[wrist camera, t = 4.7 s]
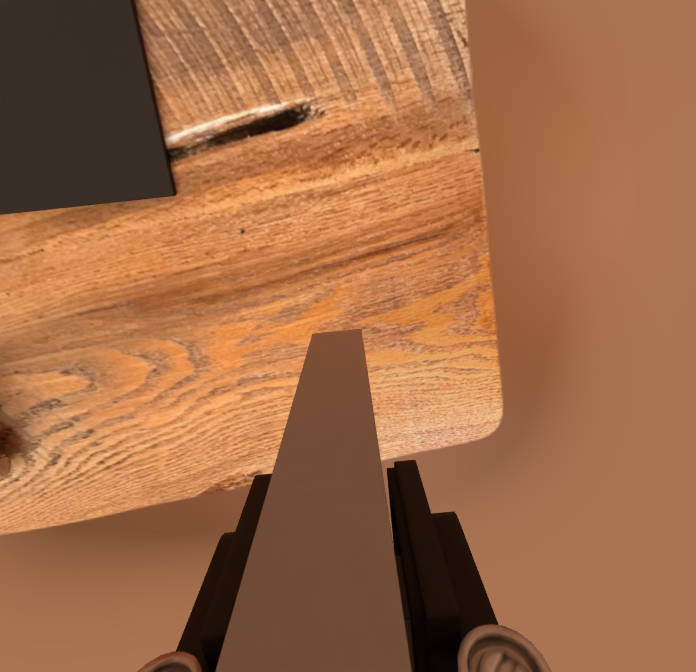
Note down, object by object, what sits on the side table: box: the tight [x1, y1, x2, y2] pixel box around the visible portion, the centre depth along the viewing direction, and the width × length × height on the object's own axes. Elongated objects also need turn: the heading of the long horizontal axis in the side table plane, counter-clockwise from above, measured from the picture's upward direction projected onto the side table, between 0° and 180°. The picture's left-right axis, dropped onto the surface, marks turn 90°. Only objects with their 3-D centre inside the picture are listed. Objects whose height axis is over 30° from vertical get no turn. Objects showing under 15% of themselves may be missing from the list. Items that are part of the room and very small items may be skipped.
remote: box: [215, 329, 415, 672], centre depth 12 cm, size 4×3×15 cm, turn 6°
